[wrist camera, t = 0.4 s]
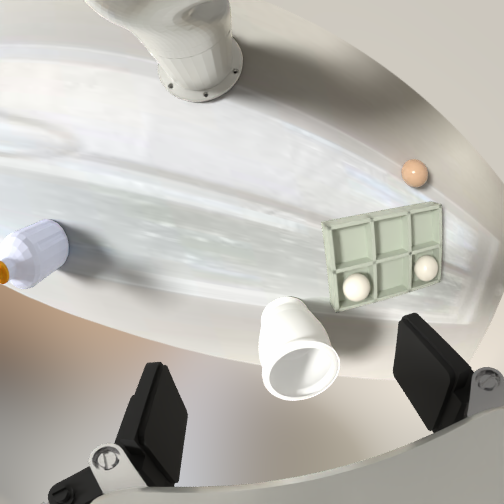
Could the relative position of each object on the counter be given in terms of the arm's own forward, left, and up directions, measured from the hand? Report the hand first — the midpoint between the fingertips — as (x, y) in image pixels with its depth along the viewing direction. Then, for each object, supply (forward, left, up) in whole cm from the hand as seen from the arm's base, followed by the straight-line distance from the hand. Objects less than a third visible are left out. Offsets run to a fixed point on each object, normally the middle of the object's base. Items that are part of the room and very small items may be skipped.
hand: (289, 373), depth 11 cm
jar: (+19, +2, -35) cm, 40 cm away
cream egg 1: (+14, +14, -34) cm, 40 cm away
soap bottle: (-3, -36, -35) cm, 50 cm away
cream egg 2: (+14, +28, -34) cm, 47 cm away
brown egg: (-2, +27, -35) cm, 44 cm away
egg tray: (+11, +21, -35) cm, 42 cm away
